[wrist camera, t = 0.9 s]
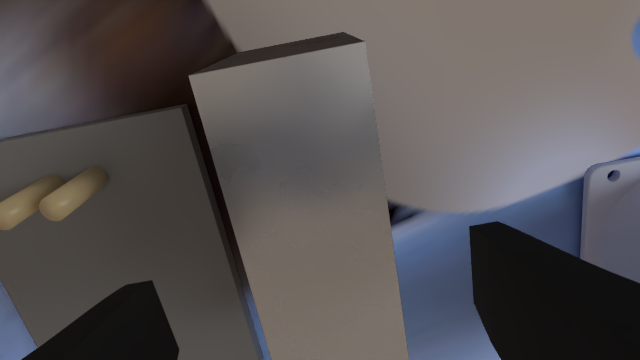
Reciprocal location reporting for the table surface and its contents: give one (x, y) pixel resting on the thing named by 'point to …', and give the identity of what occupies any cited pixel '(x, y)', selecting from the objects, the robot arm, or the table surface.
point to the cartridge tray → (120, 230)
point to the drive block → (307, 196)
